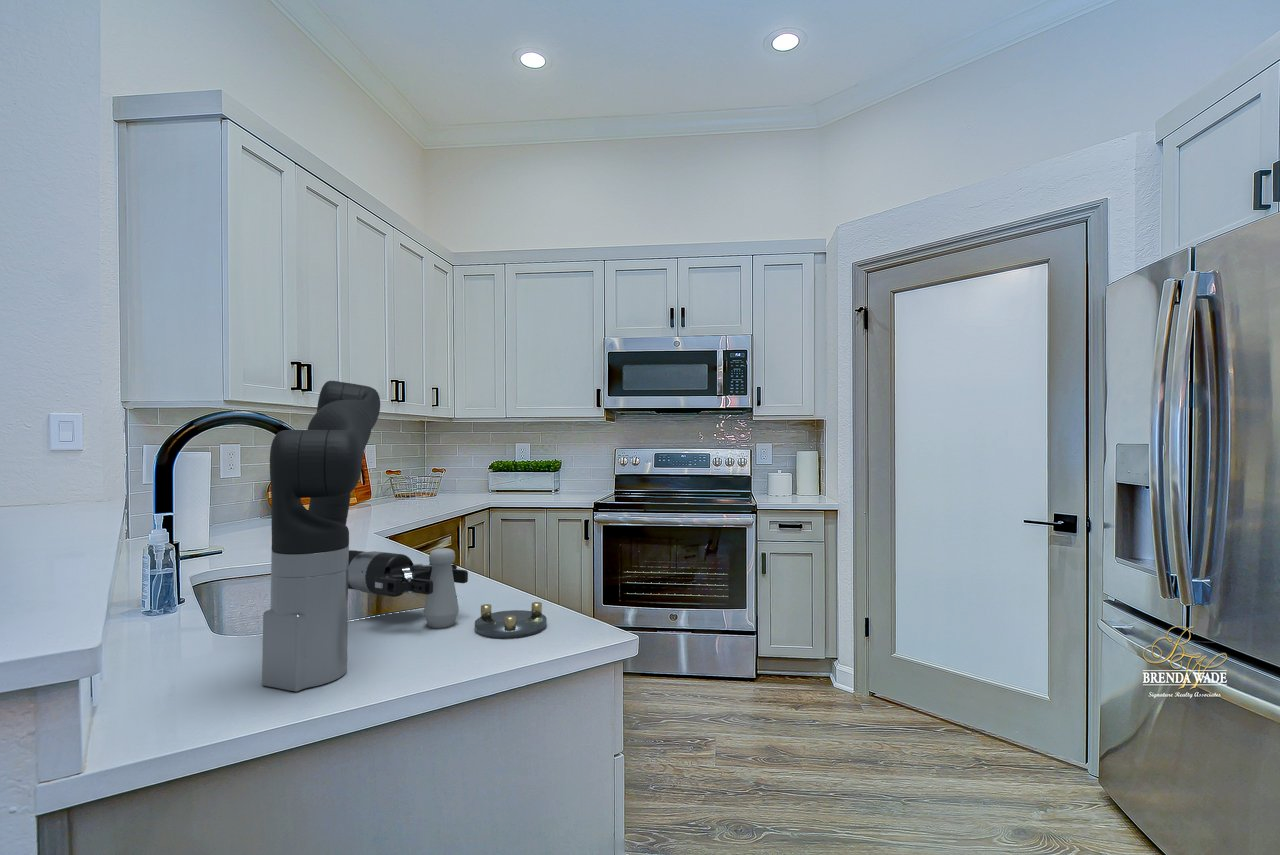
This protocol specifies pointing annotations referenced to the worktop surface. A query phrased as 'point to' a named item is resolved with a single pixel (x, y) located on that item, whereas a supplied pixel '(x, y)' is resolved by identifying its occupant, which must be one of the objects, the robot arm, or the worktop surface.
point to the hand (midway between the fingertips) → (449, 582)
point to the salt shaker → (441, 590)
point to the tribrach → (510, 622)
